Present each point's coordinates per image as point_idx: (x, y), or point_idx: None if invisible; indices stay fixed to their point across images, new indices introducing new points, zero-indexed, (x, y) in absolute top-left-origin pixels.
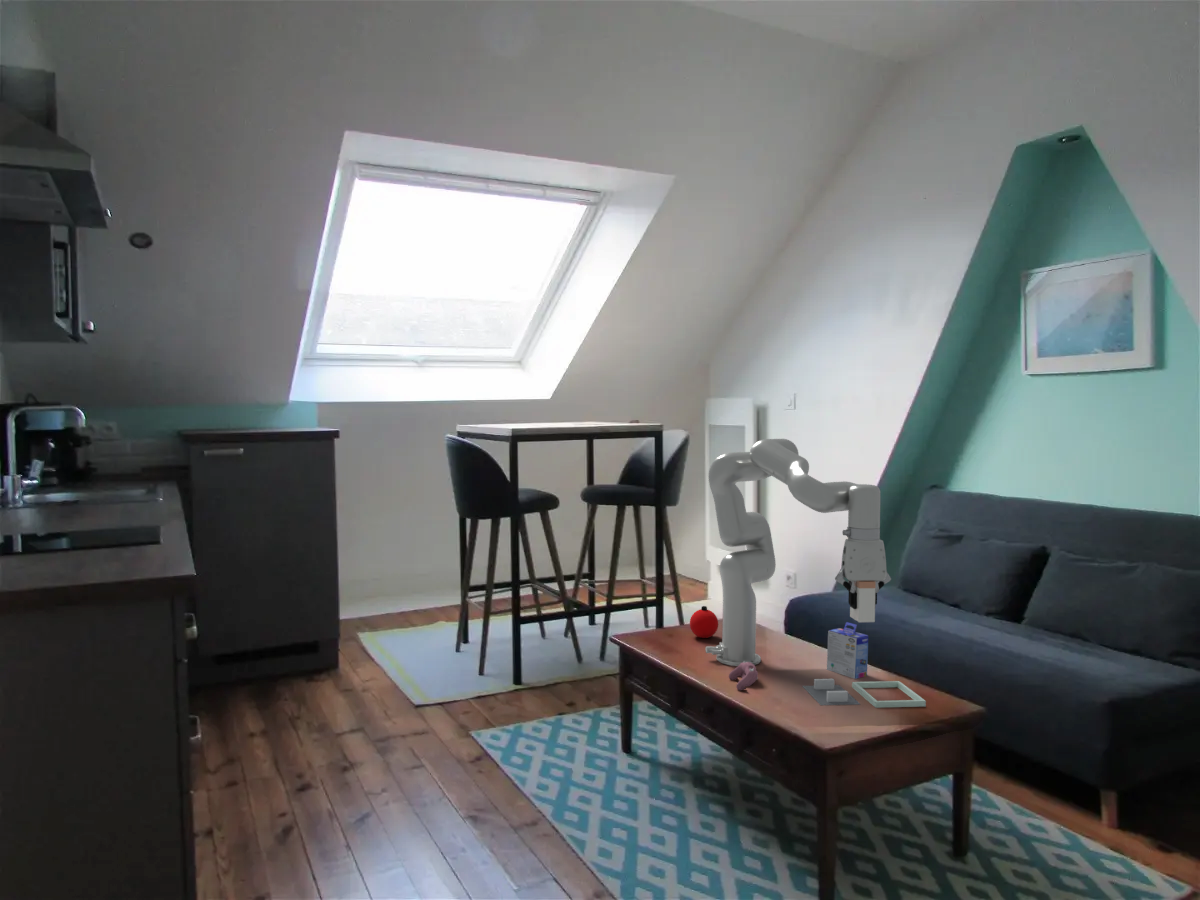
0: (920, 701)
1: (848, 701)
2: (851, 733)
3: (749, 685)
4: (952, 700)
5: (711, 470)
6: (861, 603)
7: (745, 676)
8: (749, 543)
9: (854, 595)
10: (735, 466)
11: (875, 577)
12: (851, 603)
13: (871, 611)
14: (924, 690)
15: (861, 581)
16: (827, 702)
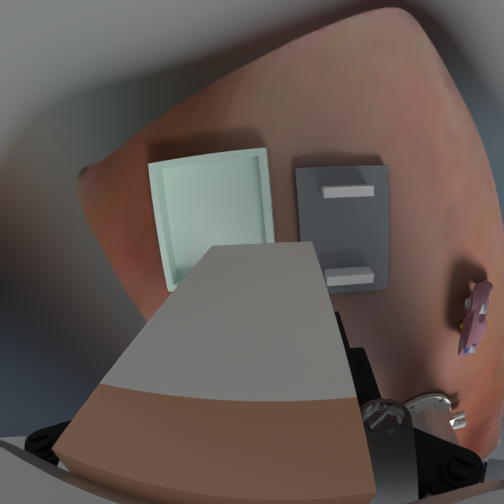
0: (159, 162)
1: (318, 186)
2: (351, 43)
3: (476, 285)
4: (96, 228)
5: None
6: (304, 289)
7: (489, 294)
8: None
9: (357, 381)
10: None
11: (25, 502)
12: (357, 349)
13: (219, 266)
14: (129, 282)
15: None
16: (368, 181)
